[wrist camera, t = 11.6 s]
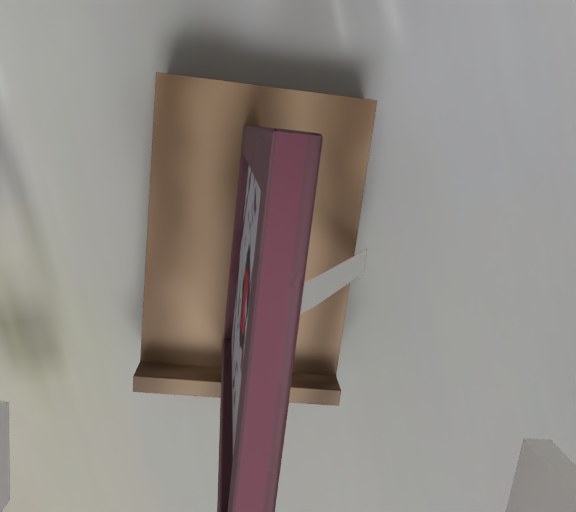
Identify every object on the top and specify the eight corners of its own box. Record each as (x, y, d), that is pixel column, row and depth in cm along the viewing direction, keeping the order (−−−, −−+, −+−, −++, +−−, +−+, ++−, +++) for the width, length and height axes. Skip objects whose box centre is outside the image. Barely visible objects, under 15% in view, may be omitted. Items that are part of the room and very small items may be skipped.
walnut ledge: (364, 102, 40) (386, 98, 34) (326, 367, 45) (338, 405, 39) (165, 77, 38) (149, 68, 32) (149, 353, 43) (132, 391, 37)
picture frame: (243, 125, 36) (231, 122, 11) (382, 142, 37) (643, 172, 12) (222, 350, 40) (180, 703, 15) (348, 360, 40) (497, 707, 16)
